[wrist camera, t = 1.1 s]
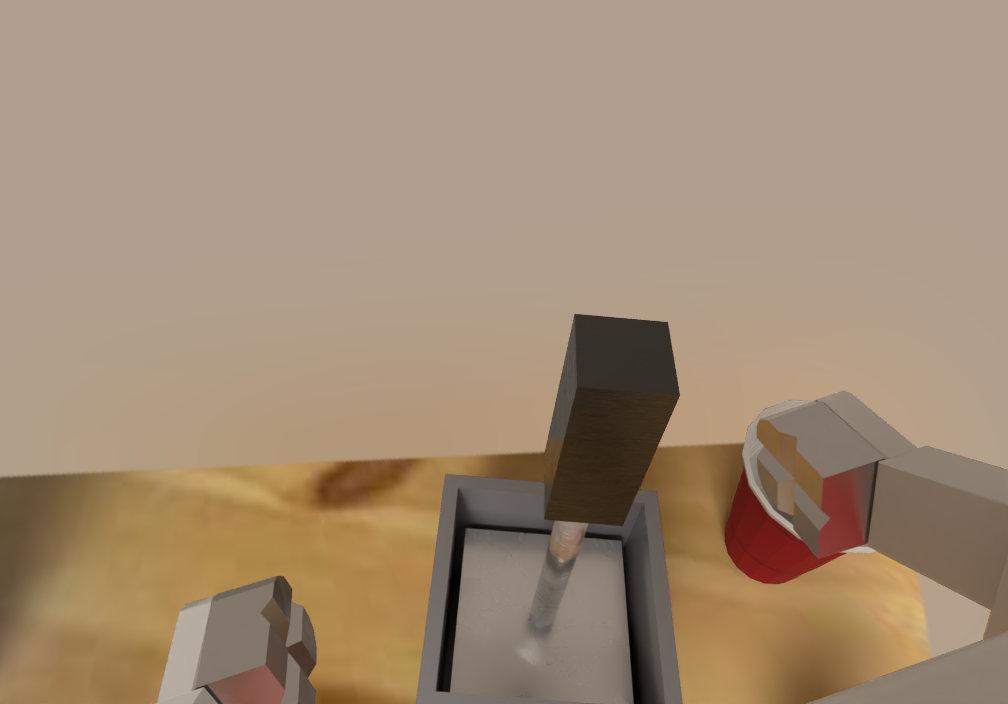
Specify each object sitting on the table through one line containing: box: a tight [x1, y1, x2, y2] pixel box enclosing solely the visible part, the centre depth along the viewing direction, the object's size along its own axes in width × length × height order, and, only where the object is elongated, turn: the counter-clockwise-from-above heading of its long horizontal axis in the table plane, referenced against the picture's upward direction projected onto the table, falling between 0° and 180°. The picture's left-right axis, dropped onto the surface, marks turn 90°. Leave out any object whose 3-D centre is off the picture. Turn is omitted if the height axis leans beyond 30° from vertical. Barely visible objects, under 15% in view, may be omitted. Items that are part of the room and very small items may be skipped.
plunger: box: [450, 314, 680, 704], centre depth 28 cm, size 9×9×22 cm
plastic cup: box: [725, 400, 875, 584], centre depth 46 cm, size 11×11×12 cm
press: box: [416, 474, 683, 704], centre depth 38 cm, size 12×12×14 cm
